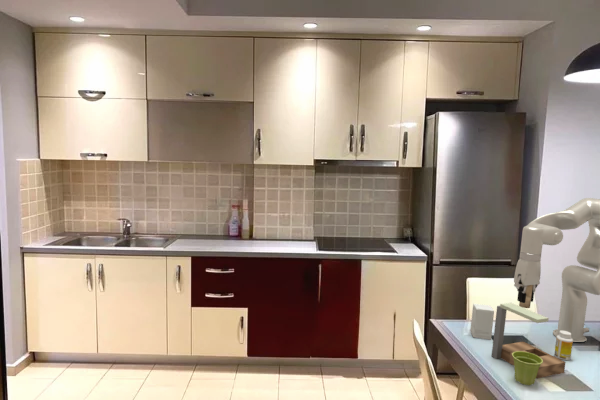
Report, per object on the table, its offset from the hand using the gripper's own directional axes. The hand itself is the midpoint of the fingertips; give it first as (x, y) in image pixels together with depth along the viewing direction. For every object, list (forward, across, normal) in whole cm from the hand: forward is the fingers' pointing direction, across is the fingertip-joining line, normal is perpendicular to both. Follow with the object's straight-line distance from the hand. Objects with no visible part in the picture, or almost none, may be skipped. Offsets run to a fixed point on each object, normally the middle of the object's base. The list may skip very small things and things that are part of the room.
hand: (525, 300), depth 183 cm
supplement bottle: (+19, -7, +13) cm, 25 cm away
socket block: (+19, +11, +12) cm, 25 cm away
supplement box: (+19, +8, -14) cm, 25 cm away
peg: (+2, 0, 0) cm, 2 cm away
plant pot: (+19, +24, +21) cm, 37 cm away
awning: (+19, +17, +11) cm, 28 cm away
